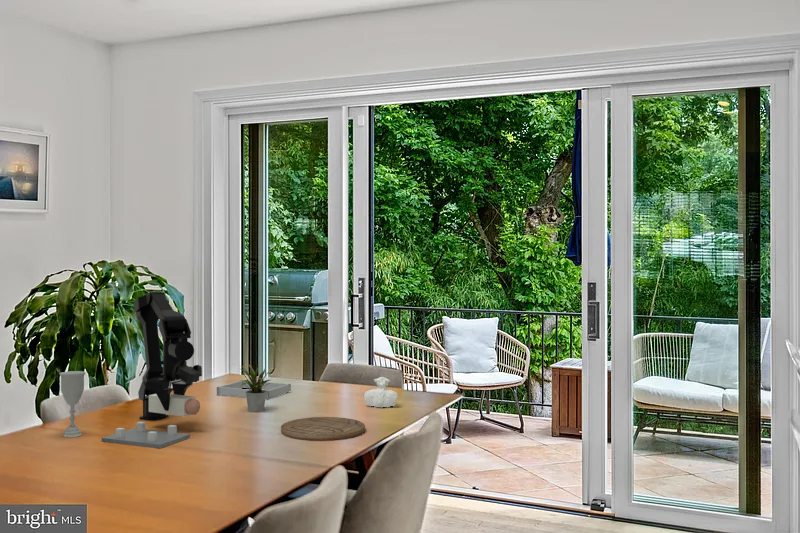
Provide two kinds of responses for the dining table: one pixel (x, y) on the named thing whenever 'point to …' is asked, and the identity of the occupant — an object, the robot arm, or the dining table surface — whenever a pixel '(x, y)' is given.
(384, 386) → the bust
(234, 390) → the tray
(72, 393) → the chalice
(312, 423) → the trivet
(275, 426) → the dining table surface
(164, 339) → the robot arm
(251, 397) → the house plant
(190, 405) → the white block
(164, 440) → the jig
